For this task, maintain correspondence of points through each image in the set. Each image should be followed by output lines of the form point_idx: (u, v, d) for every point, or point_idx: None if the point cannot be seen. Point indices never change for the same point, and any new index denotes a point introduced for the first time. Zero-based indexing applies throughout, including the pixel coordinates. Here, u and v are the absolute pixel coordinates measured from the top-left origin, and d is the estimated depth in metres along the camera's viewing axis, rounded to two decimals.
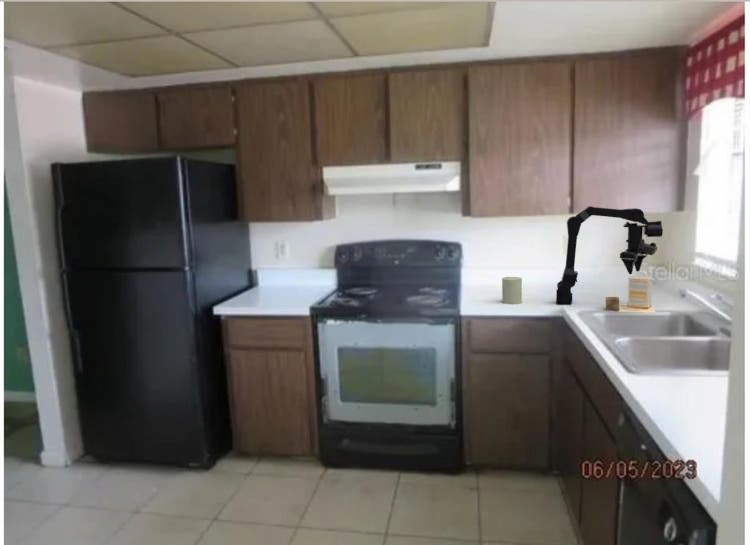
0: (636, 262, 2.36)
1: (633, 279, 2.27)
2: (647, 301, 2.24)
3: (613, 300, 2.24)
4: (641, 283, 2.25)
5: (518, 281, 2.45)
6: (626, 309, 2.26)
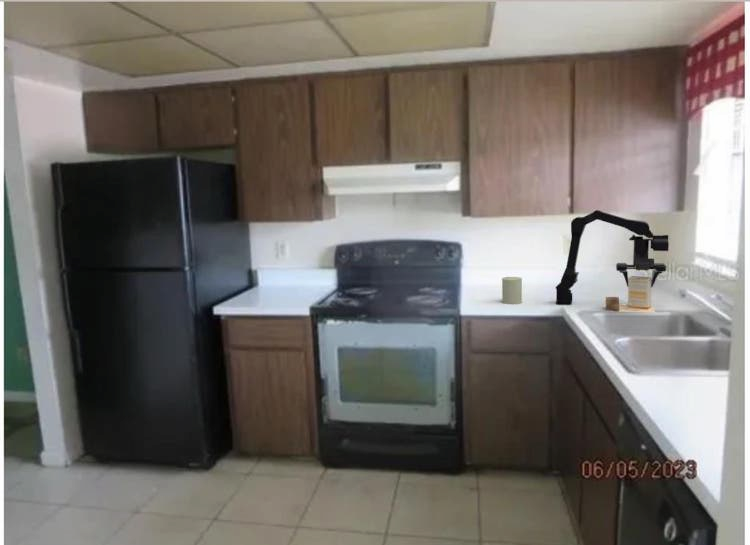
0: (652, 277, 2.26)
1: (633, 279, 2.26)
2: (647, 301, 2.24)
3: (613, 300, 2.24)
4: (641, 284, 2.24)
5: (518, 281, 2.45)
6: (626, 309, 2.26)
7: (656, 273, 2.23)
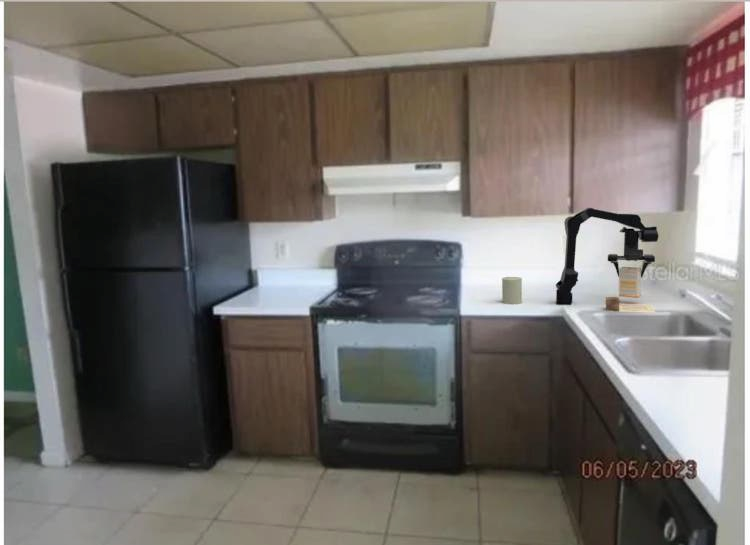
0: (642, 268, 2.36)
1: (623, 270, 2.36)
2: (637, 291, 2.34)
3: (613, 300, 2.24)
4: (631, 274, 2.34)
5: (518, 281, 2.45)
6: (626, 309, 2.26)
7: (645, 264, 2.32)
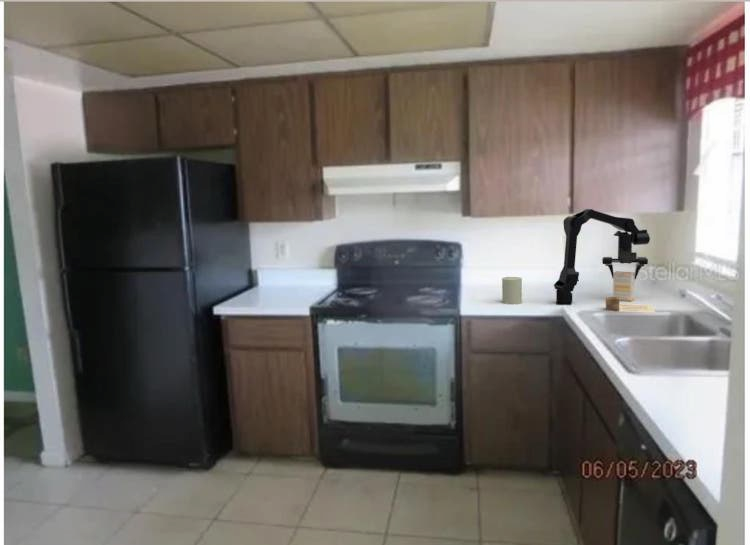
0: (635, 270, 2.43)
1: (617, 274, 2.43)
2: (630, 294, 2.41)
3: (613, 300, 2.24)
4: (625, 278, 2.41)
5: (518, 281, 2.45)
6: (626, 309, 2.26)
7: (639, 266, 2.40)
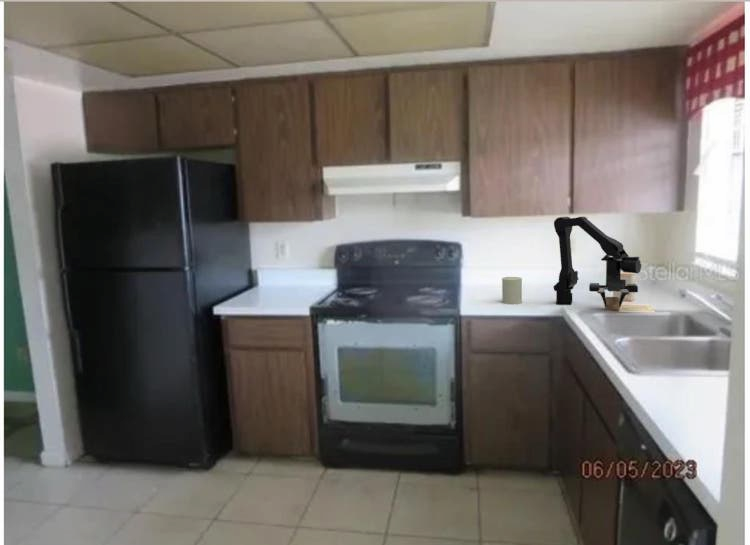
0: None
1: None
2: (630, 294, 2.41)
3: (613, 300, 2.24)
4: (625, 278, 2.41)
5: (518, 281, 2.45)
6: (626, 309, 2.26)
7: (623, 294, 2.23)
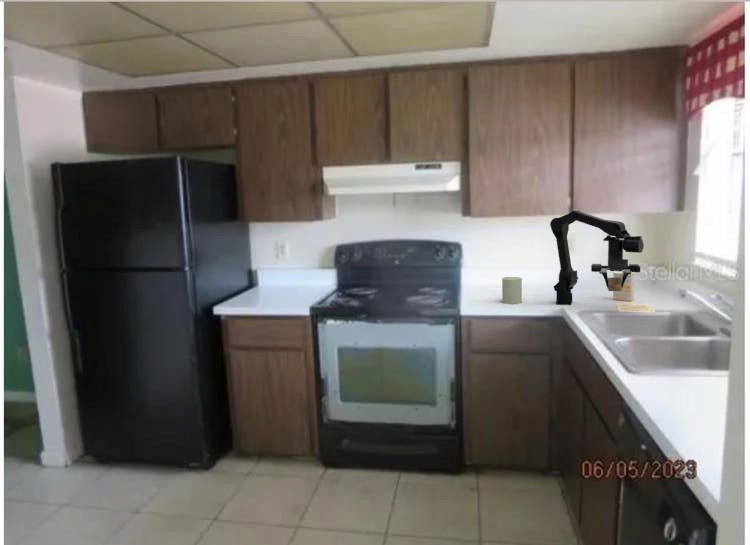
0: (622, 278, 2.25)
1: (617, 274, 2.43)
2: (630, 294, 2.41)
3: (615, 280, 2.23)
4: None
5: (518, 281, 2.45)
6: (626, 309, 2.26)
7: (625, 274, 2.21)
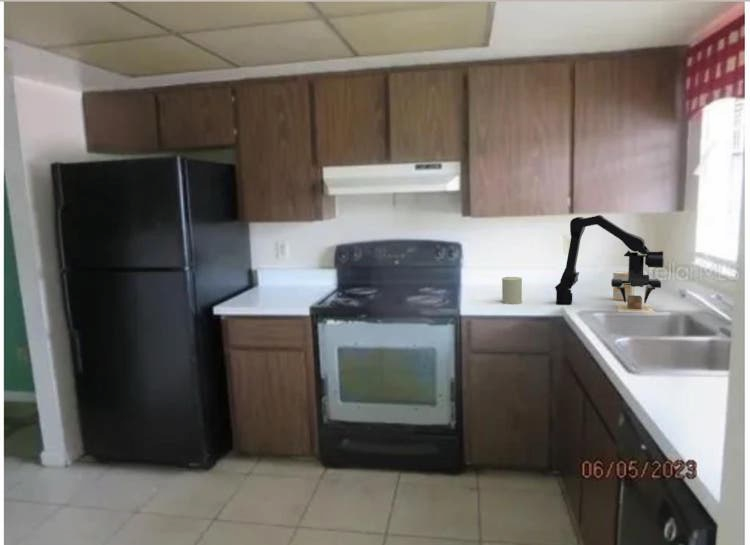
0: (645, 293, 2.26)
1: (617, 274, 2.43)
2: (630, 294, 2.41)
3: (636, 299, 2.25)
4: (625, 278, 2.41)
5: (518, 281, 2.45)
6: (626, 309, 2.26)
7: (649, 289, 2.22)
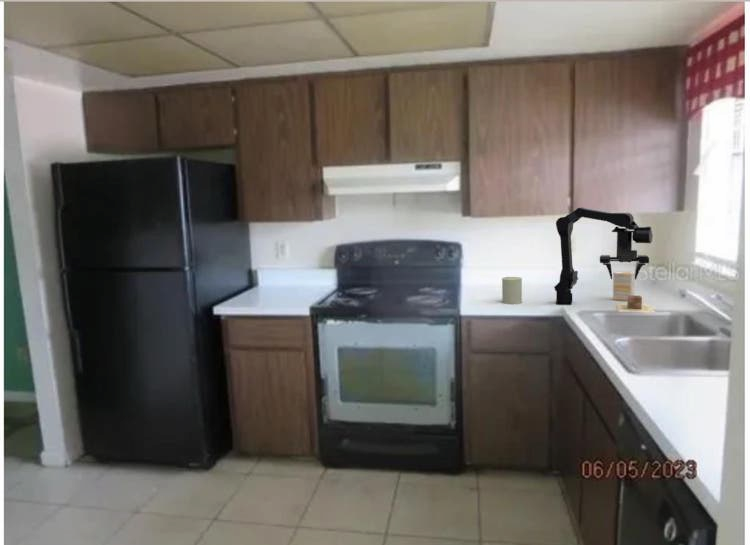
0: (635, 270, 2.24)
1: (617, 274, 2.43)
2: (630, 294, 2.41)
3: (636, 299, 2.25)
4: (625, 278, 2.41)
5: (518, 281, 2.45)
6: (626, 309, 2.26)
7: (639, 265, 2.21)
